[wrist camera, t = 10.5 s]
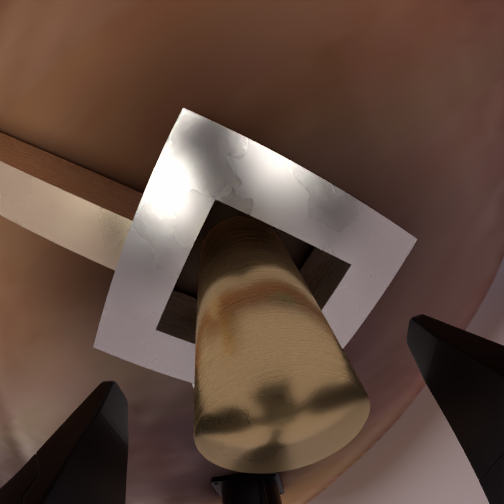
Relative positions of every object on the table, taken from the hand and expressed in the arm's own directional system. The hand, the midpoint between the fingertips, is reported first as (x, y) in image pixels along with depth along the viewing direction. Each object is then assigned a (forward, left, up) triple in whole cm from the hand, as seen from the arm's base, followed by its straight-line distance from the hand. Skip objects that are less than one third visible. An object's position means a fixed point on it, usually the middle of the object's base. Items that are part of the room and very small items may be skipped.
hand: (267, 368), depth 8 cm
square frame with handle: (+4, +5, -7) cm, 9 cm away
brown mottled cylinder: (0, 0, -8) cm, 8 cm away
